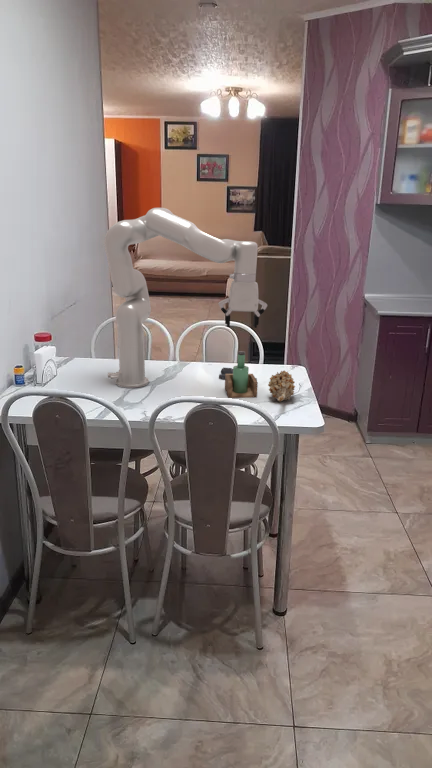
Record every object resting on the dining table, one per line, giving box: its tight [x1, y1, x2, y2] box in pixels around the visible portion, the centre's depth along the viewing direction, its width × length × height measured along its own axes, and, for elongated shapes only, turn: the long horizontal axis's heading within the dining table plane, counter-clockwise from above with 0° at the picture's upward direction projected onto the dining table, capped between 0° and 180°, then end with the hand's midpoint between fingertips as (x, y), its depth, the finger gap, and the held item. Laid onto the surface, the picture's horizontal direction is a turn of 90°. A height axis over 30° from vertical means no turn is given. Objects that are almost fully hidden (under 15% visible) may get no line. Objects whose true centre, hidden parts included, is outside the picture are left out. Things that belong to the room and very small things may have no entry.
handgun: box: [218, 367, 258, 381], centre depth 223 cm, size 2×16×12 cm
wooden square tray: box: [224, 373, 258, 399], centre depth 202 cm, size 10×10×6 cm
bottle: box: [232, 350, 250, 393], centre depth 201 cm, size 6×6×15 cm
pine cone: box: [267, 370, 296, 403], centre depth 193 cm, size 22×10×10 cm, turn 178°
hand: (241, 326), depth 196 cm, fingers open, 9 cm apart
